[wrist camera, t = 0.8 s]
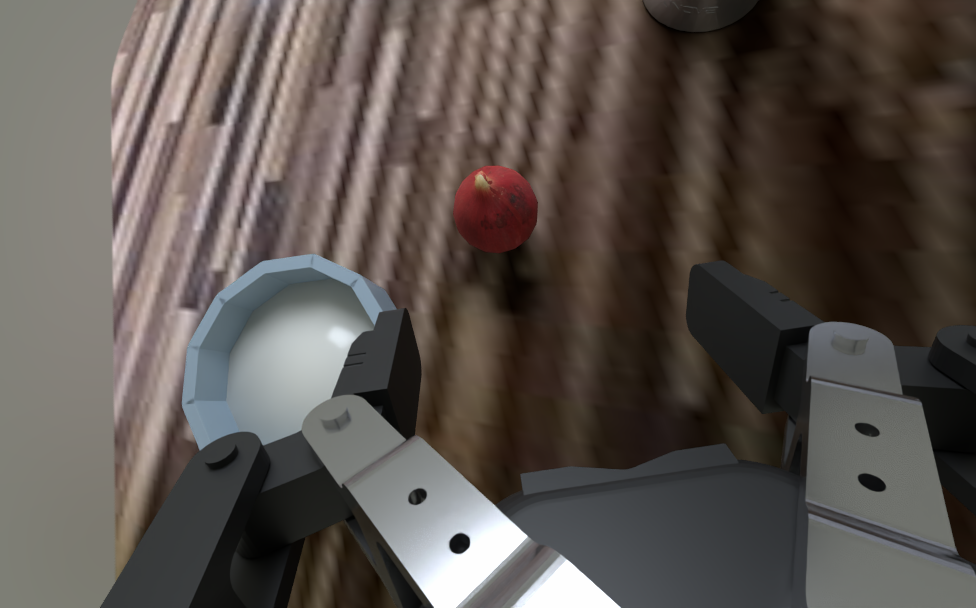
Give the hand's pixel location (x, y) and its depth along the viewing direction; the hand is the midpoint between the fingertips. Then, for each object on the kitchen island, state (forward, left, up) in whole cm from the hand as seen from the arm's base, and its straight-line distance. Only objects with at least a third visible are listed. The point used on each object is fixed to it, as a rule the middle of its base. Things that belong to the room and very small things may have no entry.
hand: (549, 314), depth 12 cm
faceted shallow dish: (+8, -18, -19) cm, 27 cm away
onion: (-8, -9, -19) cm, 22 cm away
